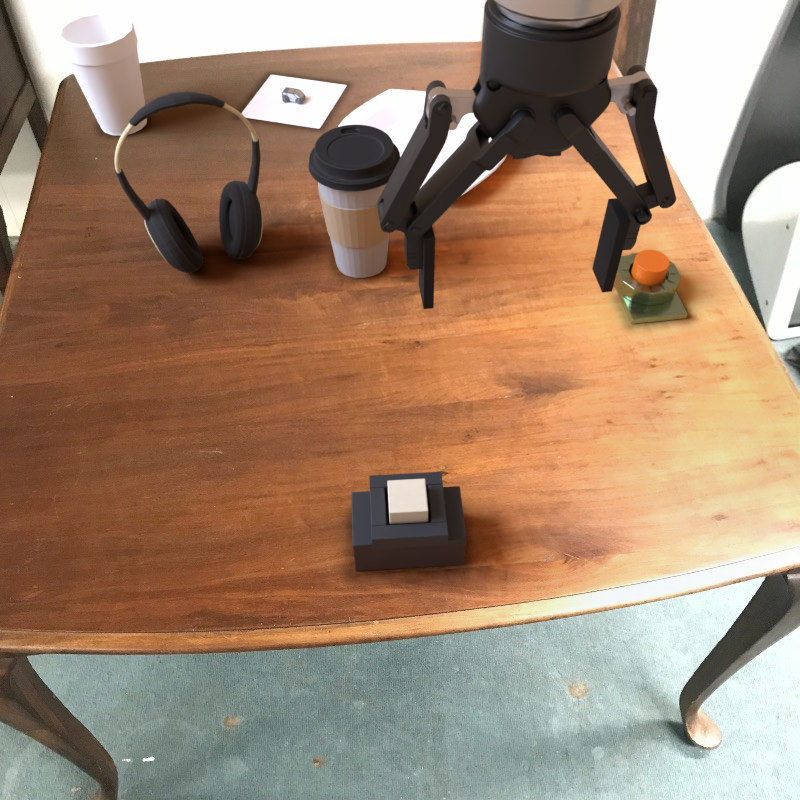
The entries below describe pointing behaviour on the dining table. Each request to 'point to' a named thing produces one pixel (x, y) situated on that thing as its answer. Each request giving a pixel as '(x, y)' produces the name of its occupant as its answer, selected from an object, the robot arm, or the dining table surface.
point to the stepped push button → (407, 527)
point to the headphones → (236, 203)
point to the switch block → (648, 295)
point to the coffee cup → (354, 194)
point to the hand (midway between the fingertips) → (514, 288)
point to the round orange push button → (650, 267)
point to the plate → (410, 124)
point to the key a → (407, 501)
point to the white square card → (294, 101)
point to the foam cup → (105, 67)
